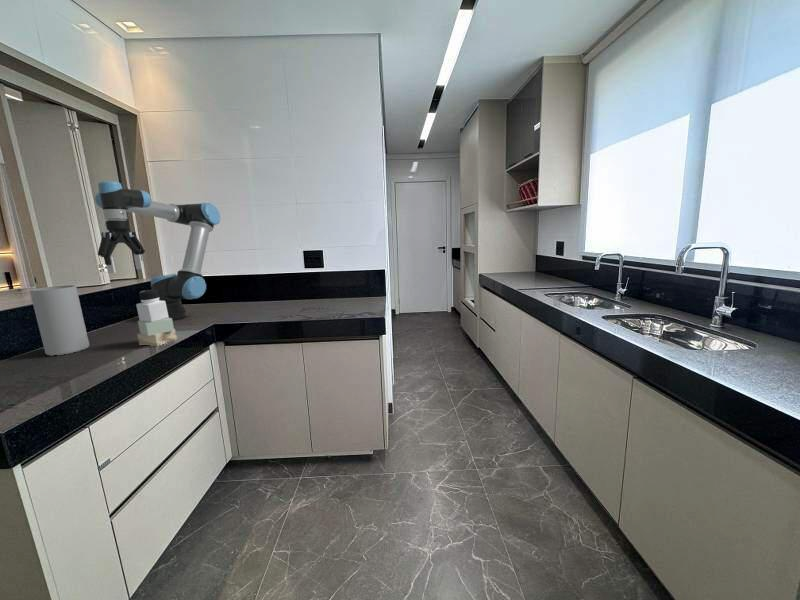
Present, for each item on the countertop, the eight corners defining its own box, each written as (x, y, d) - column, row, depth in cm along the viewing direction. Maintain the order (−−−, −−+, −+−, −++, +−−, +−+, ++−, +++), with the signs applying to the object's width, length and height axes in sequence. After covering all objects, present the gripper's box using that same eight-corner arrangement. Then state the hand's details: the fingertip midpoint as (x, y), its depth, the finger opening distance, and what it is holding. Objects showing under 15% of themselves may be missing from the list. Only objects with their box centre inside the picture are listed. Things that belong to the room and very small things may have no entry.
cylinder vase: (95, 348, 136) (81, 286, 132) (52, 358, 126) (35, 291, 121) (82, 344, 143) (69, 284, 138) (41, 353, 132) (24, 289, 127)
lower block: (160, 339, 146) (158, 328, 145) (177, 340, 144) (175, 328, 143) (139, 346, 137) (137, 334, 136) (157, 347, 135) (155, 335, 134)
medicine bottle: (169, 317, 140) (163, 288, 138) (151, 322, 134) (145, 292, 131) (157, 316, 143) (151, 288, 140) (139, 321, 137) (132, 292, 134)
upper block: (165, 327, 146) (163, 315, 145) (174, 330, 140) (172, 318, 139) (140, 332, 139) (137, 320, 138) (148, 336, 133) (146, 323, 132)
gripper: (96, 218, 131) (107, 274, 135) (149, 220, 155) (157, 267, 159) (78, 219, 131) (90, 274, 136) (133, 221, 156) (142, 268, 160)
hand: (126, 271), depth 147 cm, fingers open, 13 cm apart
